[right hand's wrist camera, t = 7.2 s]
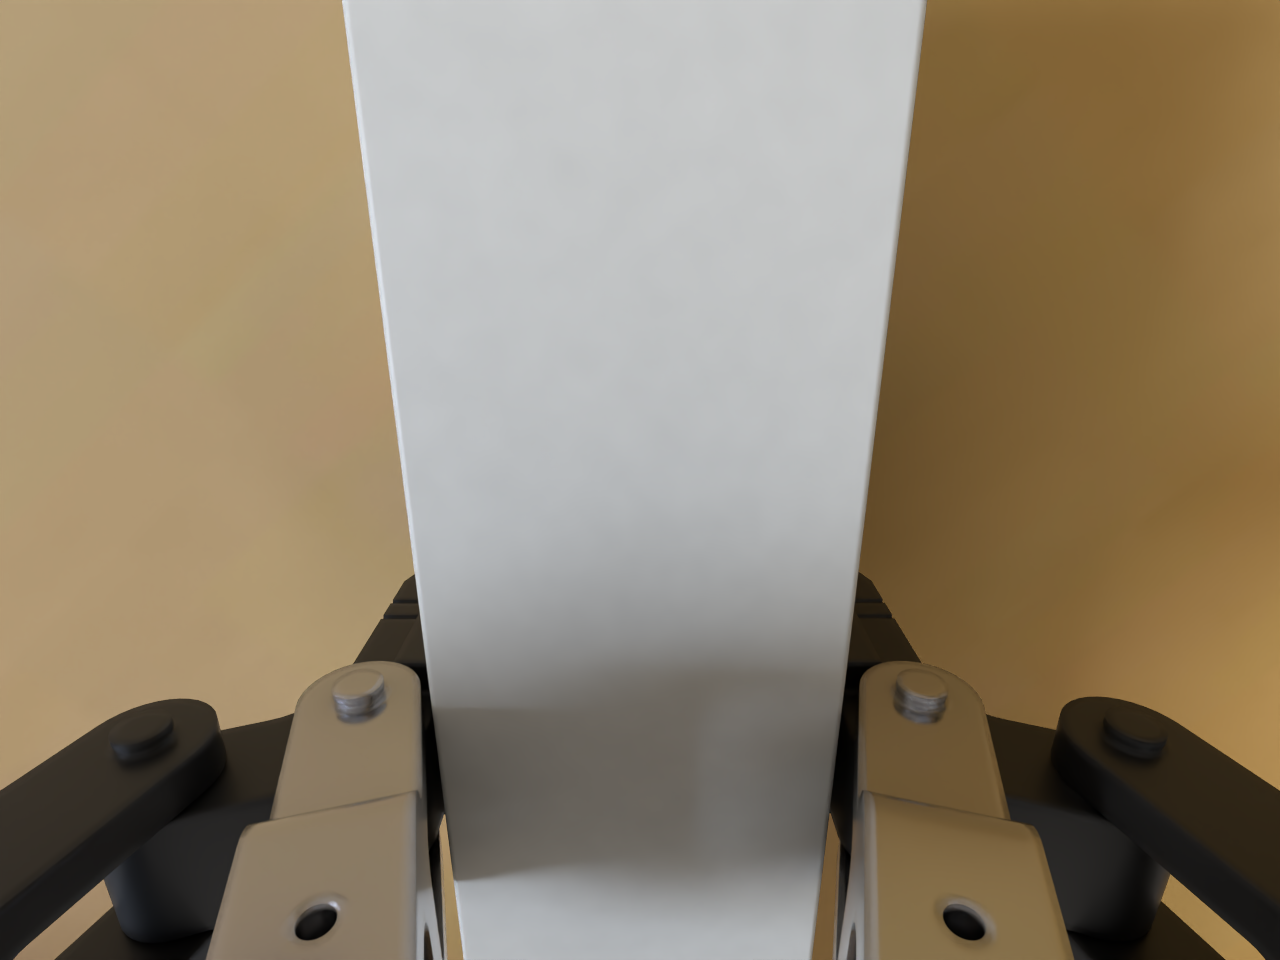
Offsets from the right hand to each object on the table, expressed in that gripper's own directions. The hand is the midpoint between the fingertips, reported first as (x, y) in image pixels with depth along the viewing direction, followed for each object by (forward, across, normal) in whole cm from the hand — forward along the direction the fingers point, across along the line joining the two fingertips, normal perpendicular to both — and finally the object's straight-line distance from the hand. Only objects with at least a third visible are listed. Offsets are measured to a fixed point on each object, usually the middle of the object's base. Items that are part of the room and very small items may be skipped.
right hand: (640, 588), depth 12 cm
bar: (+2, 0, -21) cm, 21 cm away
